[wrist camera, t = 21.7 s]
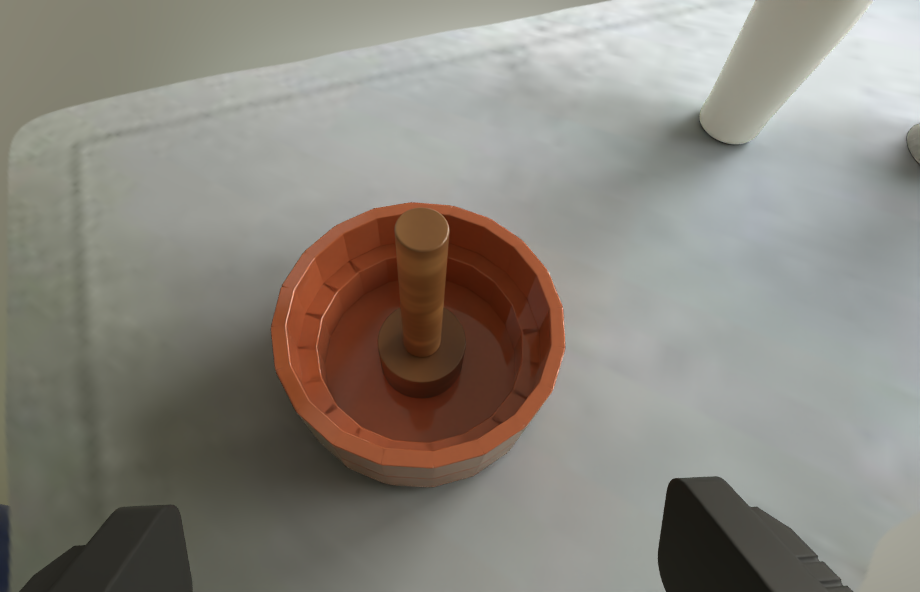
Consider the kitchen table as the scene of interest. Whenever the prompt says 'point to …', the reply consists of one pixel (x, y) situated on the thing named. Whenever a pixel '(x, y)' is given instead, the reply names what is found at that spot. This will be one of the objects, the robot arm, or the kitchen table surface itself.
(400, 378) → the wooden knob stand
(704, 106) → the drinking glass
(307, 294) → the bowl
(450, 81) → the kitchen table surface
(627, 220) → the kitchen table surface
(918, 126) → the pitcher
